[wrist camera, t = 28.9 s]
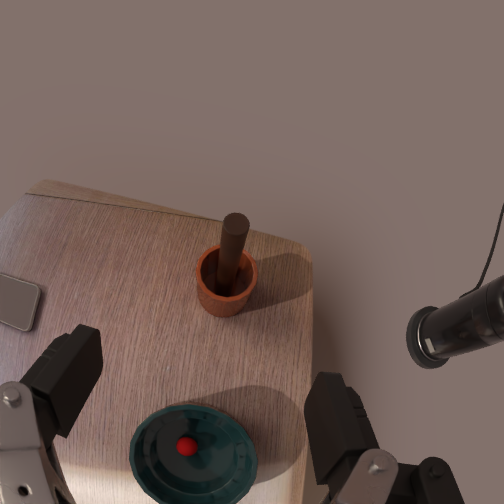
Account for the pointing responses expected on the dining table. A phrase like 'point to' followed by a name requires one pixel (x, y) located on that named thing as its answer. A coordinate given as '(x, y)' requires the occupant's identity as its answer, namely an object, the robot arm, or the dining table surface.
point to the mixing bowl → (193, 456)
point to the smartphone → (18, 302)
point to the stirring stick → (230, 251)
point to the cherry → (186, 446)
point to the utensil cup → (241, 286)
